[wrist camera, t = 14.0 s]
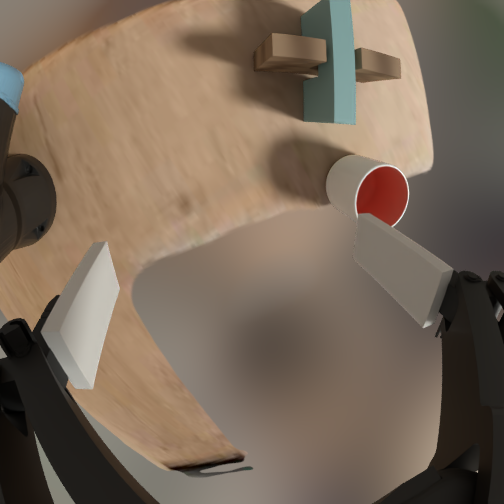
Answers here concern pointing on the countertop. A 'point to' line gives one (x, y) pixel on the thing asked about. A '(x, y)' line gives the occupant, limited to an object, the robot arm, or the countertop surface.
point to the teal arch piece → (331, 64)
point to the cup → (367, 188)
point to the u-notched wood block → (319, 58)
